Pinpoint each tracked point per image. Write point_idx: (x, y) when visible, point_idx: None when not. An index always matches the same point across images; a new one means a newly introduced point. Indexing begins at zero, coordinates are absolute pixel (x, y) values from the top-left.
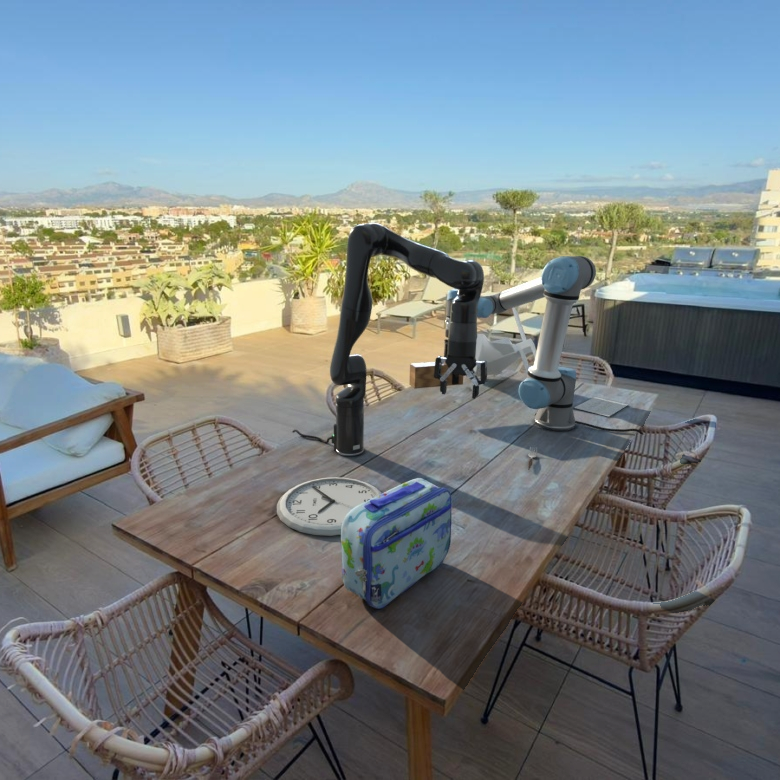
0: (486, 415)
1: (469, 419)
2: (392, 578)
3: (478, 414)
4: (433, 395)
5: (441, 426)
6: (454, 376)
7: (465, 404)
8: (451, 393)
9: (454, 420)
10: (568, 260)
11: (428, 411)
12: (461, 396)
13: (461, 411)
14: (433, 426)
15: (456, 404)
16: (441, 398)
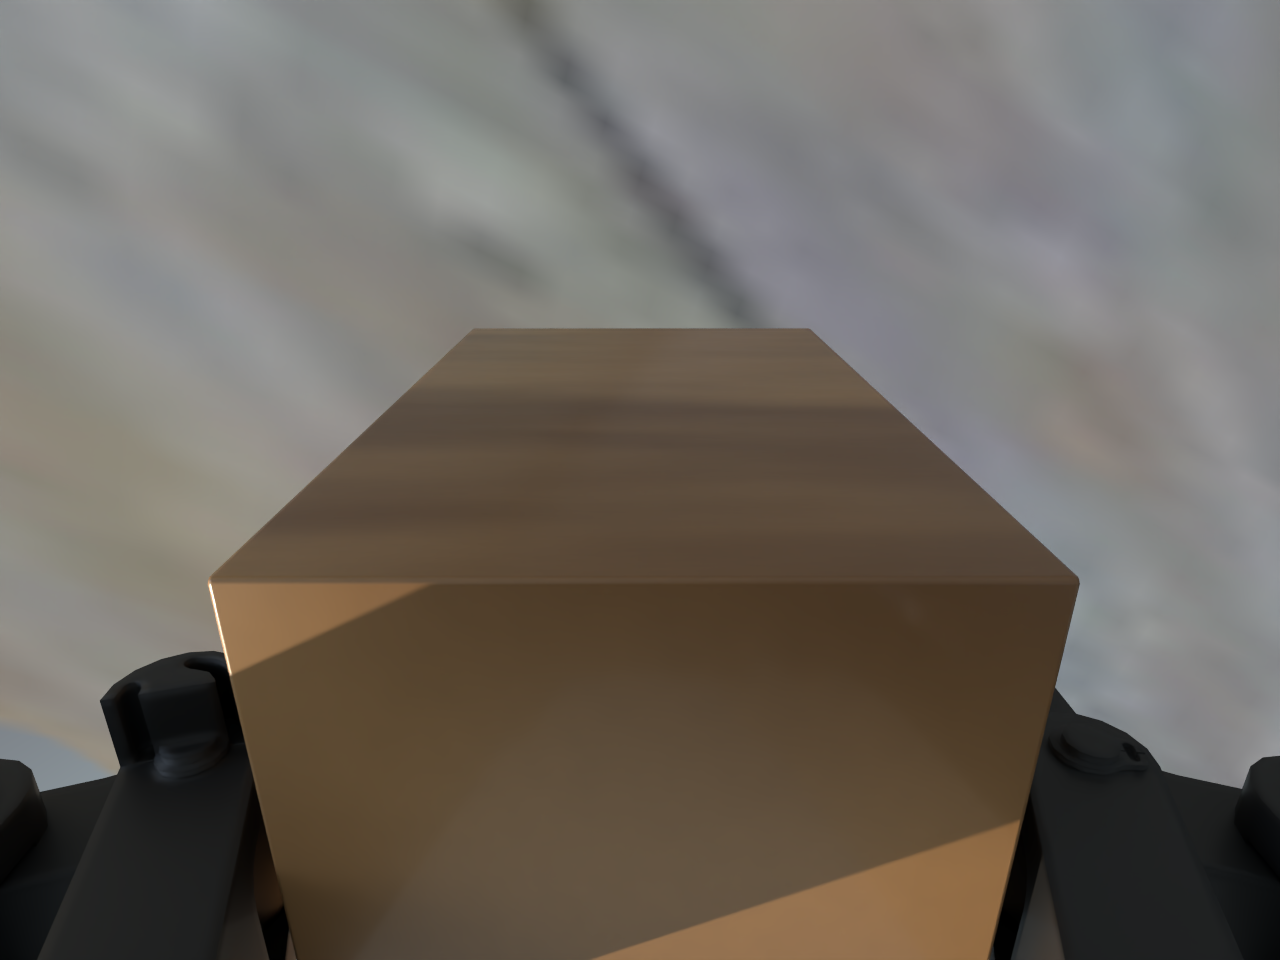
0: (1197, 67)
1: (1192, 384)
2: None
3: (1103, 169)
4: (168, 425)
5: (1196, 741)
6: None
7: (649, 145)
8: (78, 109)
9: (1124, 561)
10: None
11: None
12: (252, 8)
13: (895, 347)
14: None
15: (612, 282)
16: (315, 373)
